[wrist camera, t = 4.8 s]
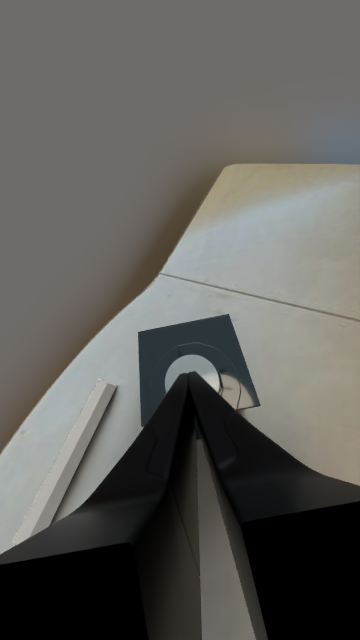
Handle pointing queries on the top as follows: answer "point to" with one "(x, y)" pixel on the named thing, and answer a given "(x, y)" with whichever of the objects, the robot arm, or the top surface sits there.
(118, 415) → the top surface
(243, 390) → the push button box
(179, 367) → the pale grey disc
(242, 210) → the top surface
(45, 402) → the top surface
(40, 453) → the top surface
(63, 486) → the pale grey rod
